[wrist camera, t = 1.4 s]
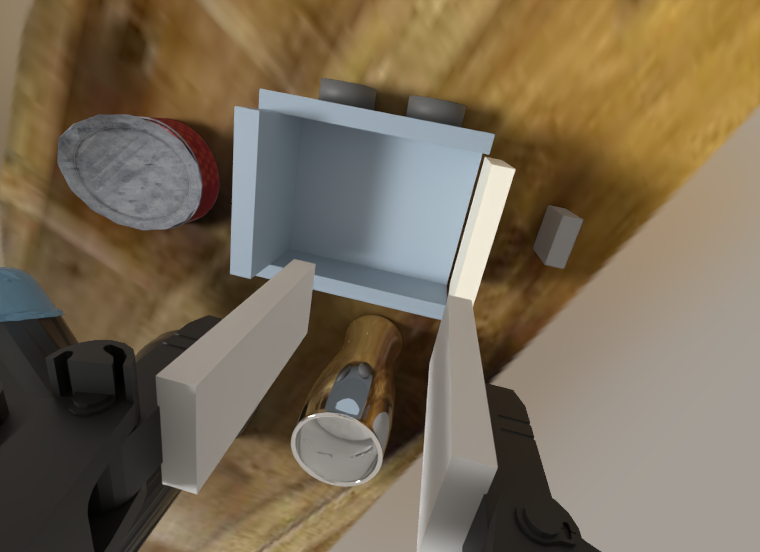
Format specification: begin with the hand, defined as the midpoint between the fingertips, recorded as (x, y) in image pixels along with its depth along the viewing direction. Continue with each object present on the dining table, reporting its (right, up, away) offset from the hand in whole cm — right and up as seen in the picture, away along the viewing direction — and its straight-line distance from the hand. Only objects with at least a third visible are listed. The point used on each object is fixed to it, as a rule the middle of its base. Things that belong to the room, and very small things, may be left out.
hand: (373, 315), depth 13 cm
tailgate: (+7, +5, +16) cm, 18 cm away
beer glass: (0, -5, +27) cm, 28 cm away
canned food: (-20, +12, +24) cm, 33 cm away
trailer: (+4, +8, +21) cm, 23 cm away
